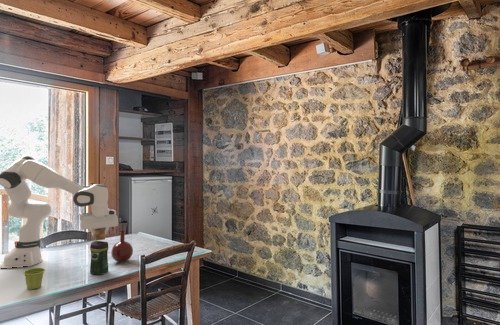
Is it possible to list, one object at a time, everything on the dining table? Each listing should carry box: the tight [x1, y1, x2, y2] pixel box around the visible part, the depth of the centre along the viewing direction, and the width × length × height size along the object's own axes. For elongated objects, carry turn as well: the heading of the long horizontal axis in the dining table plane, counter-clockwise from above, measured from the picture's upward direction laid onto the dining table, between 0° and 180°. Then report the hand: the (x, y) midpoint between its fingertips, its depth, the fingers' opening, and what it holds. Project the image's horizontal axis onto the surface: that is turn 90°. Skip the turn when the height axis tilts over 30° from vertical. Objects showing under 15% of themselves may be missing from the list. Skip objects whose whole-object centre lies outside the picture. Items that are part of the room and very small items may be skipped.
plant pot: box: [22, 267, 46, 290], centre depth 171 cm, size 9×9×9 cm
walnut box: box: [93, 227, 106, 241], centre depth 193 cm, size 5×5×6 cm
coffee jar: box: [89, 240, 109, 276], centre depth 193 cm, size 10×8×19 cm
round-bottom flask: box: [111, 230, 134, 263], centre depth 214 cm, size 13×13×20 cm
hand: (99, 235), depth 193 cm, fingers closed on walnut box, 5 cm apart
